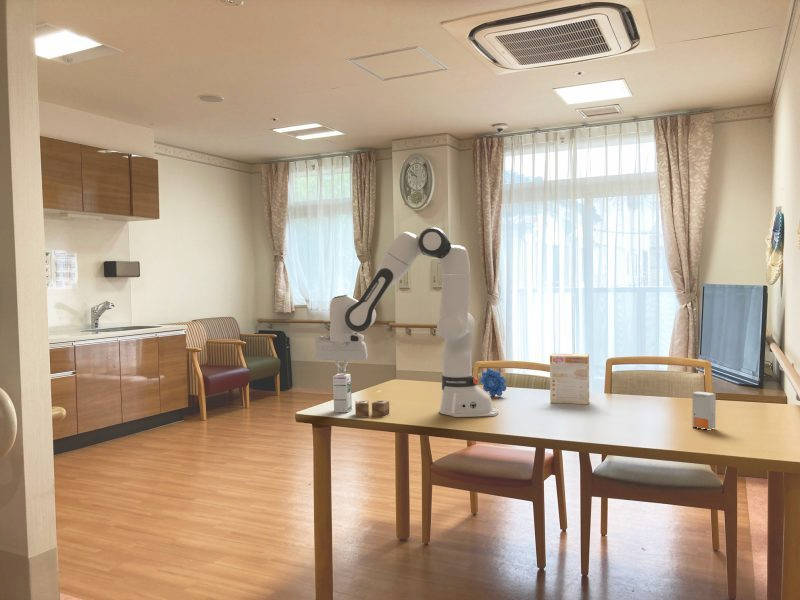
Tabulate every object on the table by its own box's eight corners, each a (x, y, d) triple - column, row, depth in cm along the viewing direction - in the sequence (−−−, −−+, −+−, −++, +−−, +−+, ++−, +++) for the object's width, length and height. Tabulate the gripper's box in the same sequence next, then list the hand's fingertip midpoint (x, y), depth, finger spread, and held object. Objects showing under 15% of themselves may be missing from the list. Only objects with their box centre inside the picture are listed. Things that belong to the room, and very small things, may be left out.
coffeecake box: (589, 401, 266) (589, 354, 265) (588, 405, 259) (587, 356, 258) (552, 399, 271) (552, 353, 270) (549, 402, 265) (549, 355, 264)
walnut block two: (389, 414, 249) (389, 400, 248) (384, 416, 244) (384, 402, 244) (377, 413, 250) (377, 399, 250) (372, 416, 246) (371, 402, 246)
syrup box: (348, 412, 252) (347, 375, 251) (333, 412, 253) (332, 375, 252) (352, 409, 257) (351, 373, 257) (337, 409, 258) (336, 373, 258)
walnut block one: (368, 413, 250) (368, 400, 249) (368, 416, 245) (368, 402, 244) (355, 414, 249) (355, 400, 249) (355, 417, 244) (355, 403, 244)
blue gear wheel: (477, 397, 279) (476, 369, 279) (482, 394, 285) (481, 367, 285) (503, 398, 274) (503, 370, 274) (507, 396, 280) (507, 368, 280)
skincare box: (691, 427, 219) (691, 392, 219) (698, 425, 222) (698, 391, 221) (709, 431, 214) (709, 395, 214) (716, 429, 217) (716, 393, 216)
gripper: (313, 337, 252) (313, 372, 253) (365, 337, 250) (365, 373, 250) (317, 335, 258) (317, 370, 259) (367, 335, 256) (368, 370, 256)
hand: (341, 371), depth 254 cm, fingers closed
